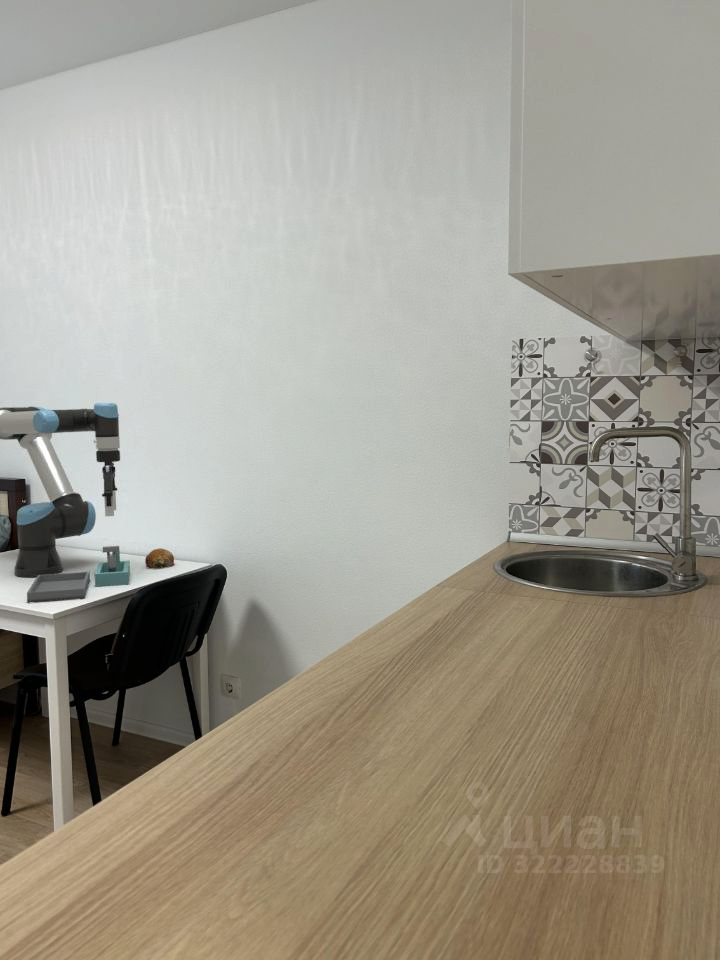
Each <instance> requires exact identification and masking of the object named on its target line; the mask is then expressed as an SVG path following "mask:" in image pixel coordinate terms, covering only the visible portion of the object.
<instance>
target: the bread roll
mask: <svg viewBox="0 0 720 960" xmlns="http://www.w3.org/2000/svg"><path fill="white" fill-rule="evenodd" d="M144 561H145V567H146V568H147V567H148V568H147V569H151V568H159V569H166V568H170V567H173V565H175V564H174V563H175V556H174V555H173V553H172V552H171V551H170V550H168V549H166V548H156V549H155V548H154V549H153V550H150V552H149V553H148V554H147V555H146V556H145V559H144ZM169 566H170V567H169ZM165 567H166V568H165Z"/></svg>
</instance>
